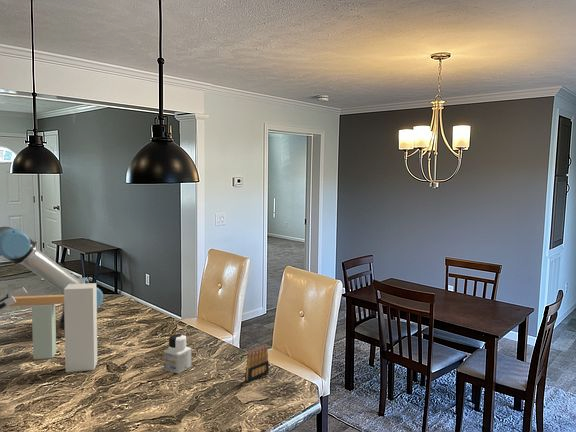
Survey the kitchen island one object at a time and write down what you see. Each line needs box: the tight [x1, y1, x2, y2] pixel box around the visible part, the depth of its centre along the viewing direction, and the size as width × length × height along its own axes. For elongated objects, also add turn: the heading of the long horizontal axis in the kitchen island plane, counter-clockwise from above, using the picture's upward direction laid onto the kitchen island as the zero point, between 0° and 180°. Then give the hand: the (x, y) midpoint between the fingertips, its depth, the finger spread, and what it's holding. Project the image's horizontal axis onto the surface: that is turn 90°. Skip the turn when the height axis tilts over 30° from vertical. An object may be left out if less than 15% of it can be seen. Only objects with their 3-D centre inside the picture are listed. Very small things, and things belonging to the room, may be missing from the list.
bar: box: [9, 294, 64, 307], centre depth 176 cm, size 3×21×3 cm, turn 105°
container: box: [163, 333, 192, 375], centre depth 170 cm, size 8×8×13 cm
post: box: [64, 282, 98, 373], centre depth 168 cm, size 8×10×32 cm
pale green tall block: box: [31, 304, 57, 360], centre depth 177 cm, size 6×7×22 cm
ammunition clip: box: [244, 343, 270, 383], centre depth 164 cm, size 11×2×12 cm, turn 138°
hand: (19, 294), depth 174 cm, fingers open, 13 cm apart
